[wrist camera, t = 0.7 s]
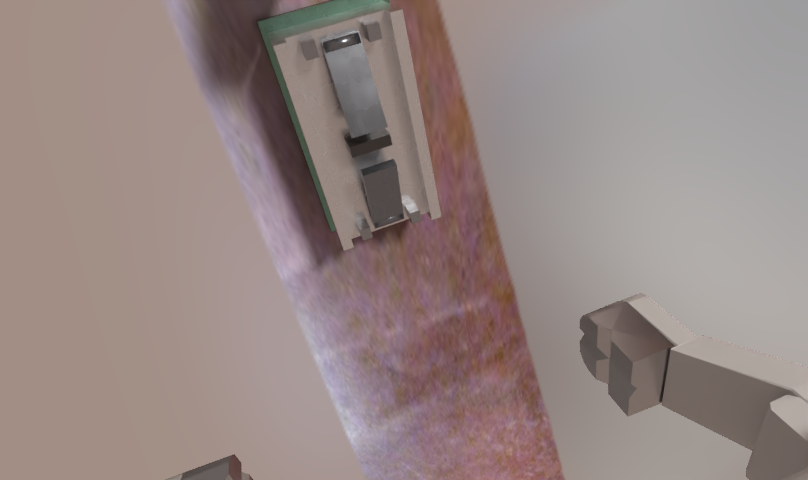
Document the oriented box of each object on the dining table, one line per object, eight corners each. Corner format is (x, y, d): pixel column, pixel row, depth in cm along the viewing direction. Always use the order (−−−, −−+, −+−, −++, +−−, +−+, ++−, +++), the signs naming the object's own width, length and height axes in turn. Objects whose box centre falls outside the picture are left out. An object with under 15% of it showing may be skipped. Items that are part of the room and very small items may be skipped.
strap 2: (401, 212, 48) (404, 220, 47) (372, 222, 47) (375, 230, 47) (393, 158, 42) (397, 166, 41) (360, 169, 41) (363, 177, 41)
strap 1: (320, 43, 37) (321, 40, 36) (357, 32, 38) (358, 29, 37) (351, 138, 39) (352, 138, 38) (386, 127, 40) (388, 127, 39)
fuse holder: (256, 20, 39) (261, 34, 34) (384, -15, 41) (408, -7, 36) (330, 229, 52) (342, 263, 46) (426, 196, 53) (449, 225, 48)
